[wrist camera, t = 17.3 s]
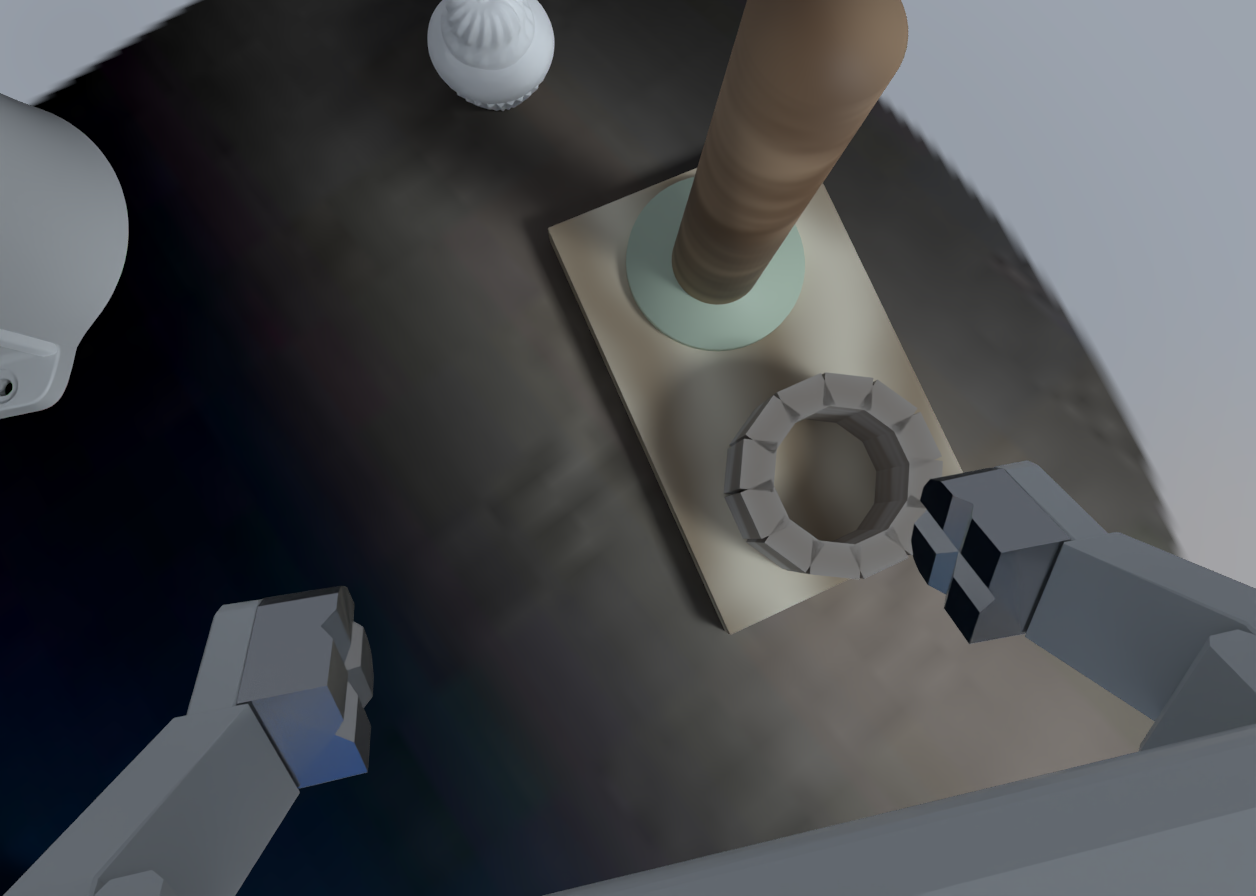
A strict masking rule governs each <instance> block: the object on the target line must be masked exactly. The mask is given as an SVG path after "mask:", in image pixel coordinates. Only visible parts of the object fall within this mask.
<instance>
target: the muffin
mask: <svg viewBox="0 0 1256 896" xmlns="http://www.w3.org/2000/svg"><path fill="white" fill-rule="evenodd" d="M427 41H428V51H429V55H430V58H431V61H432V63H433V65H434V67H435V69H436V71H437V72H438V74H439V75H440V77H441V78H442V79H443V80H444V82H445V83H446V84H447V85H448V86H449V87H450V88H451V89H453V90H454V91H456V92H457V95H458V96H460V97H463V98H465V99H466V101H467V102H470V103H473V104H475V105H477V106H479V107H483V108H486V109H489V110H491V109H493V110H495V111H498V110H502V111H504V110H505V109H507V110H510V108H511V107H513V108H515V107H516V106H517V105H519V104H520V103H522V102H523V101H524V100H526V99H527V98H528V97H530V96H531V94H532V93H533V92H534V91H535V90H537V89H538V85H539V84H540V83H541V82H542V81H543V80H544V77H545V75H546V74H547V72H548V70H549V68H550V65H551V62H552V58H553V53H554V34H553V29H552V26H551V22H550V20H549V18H548V16H547V14H546V12H545V10H544V9H543V7H542V6H541V5H540V3H539V2H538V1H537V0H442V1H441V2H440V3H439V4H438V6H437V7H436V9H435V11H434V12H433V14H432V16H431V19H430V22H429V27H428V35H427Z"/></svg>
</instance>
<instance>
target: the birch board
mask: <svg viewBox="0 0 1256 896" xmlns="http://www.w3.org/2000/svg"><path fill="white" fill-rule="evenodd" d="M696 170H697V168H695V169H693V170H690V171H688V172H685V173H683V174H680V175H678V176H676V177H673V178H671V179H668V180H666V181H663V182H661V183H658V184H656V185H653V186H651V187H648V188H646V189H643V190H641V191H638V192H636V193H633V194H631V195H628V196H626V197H624V198H621V199H619V200H616V201H614V202H611V203H609V204H606V205H604V206H601V207H599V208H596V209H594V210H591V211H589V212H586V213H584V214H581V215H579V216H576V217H574V218H572V219H569V220H567V221H564V222H562V223H559V224H557V225H554V226H552V227H549V228H548V234H549V240H550V242H551V245H552V247H553V249H554V251H555V253H556V256H557V258H558V260H559V262H560V265H561V267H562V269H563V271H564V274H565V276H566V278H567V280H568V282H569V285H570V287H571V289H572V291H573V294H574V296H575V298H576V300H577V303H578V305H579V307H580V309H581V311H582V314H583V316H584V318H585V320H586V323H587V325H588V327H589V329H590V332H591V334H592V336H593V338H594V340H595V343H596V345H597V347H598V349H599V352H600V354H601V356H602V358H603V360H604V363H605V365H606V367H607V369H608V372H609V374H610V376H611V378H612V381H613V383H614V385H615V387H616V389H617V392H618V394H619V396H620V398H621V401H622V403H623V405H624V407H625V410H626V412H627V414H628V416H629V418H630V421H631V423H632V425H633V427H634V430H635V432H636V434H637V436H638V439H639V441H640V443H641V445H642V447H643V450H644V452H645V454H646V456H647V459H648V461H649V463H650V465H651V468H652V470H653V472H654V474H655V476H656V479H657V481H658V483H659V485H660V488H661V490H662V492H663V494H664V497H665V499H666V501H667V503H668V505H669V508H670V510H671V512H672V514H673V517H674V519H675V521H676V523H677V526H678V528H679V530H680V532H681V534H682V537H683V539H684V541H685V543H686V546H687V548H688V550H689V552H690V555H691V557H692V559H693V561H694V563H695V566H696V568H697V570H698V572H699V575H700V577H701V579H702V581H703V584H704V586H705V588H706V590H707V592H708V595H709V597H710V599H711V601H712V604H713V606H714V608H715V610H716V613H717V615H718V617H719V619H720V621H721V624H722V626H723V628H724V630H725V632H727V633H728V634H730V635H731V634H733V633H735V632H738V631H740V630H742V629H744V628H746V627H748V626H750V625H752V624H755V623H757V622H759V621H761V620H763V619H765V618H767V617H770V616H772V615H774V614H776V613H778V612H780V611H782V610H784V609H787V608H789V607H791V606H793V605H795V604H797V603H799V602H802V601H804V600H806V599H808V598H810V597H812V596H814V595H816V594H819V593H821V592H823V591H825V590H827V589H829V588H831V587H834V586H836V585H838V584H840V583H842V582H844V581H846V580H848V579H859V580H860V578H862V579H865V578H867V577H869V576H871V575H873V574H875V573H877V572H880V571H882V570H884V569H886V568H888V567H890V566H892V565H894V564H897V563H899V562H901V561H903V560H905V559H907V558H908V556H907V555H912V554H913V551H912V544H911V537H912V532H913V527H914V523H915V522H916V521H917V520H918V519H919V518H920V517H921V516H922V514H923V513H924V512H925V511H926V510H927V509H926V508H925V507H924V505H923V504H922V503H921V501H920V498H921V494H922V490H923V487H924V486H925V484H926V483H927V482H928V481H929V480H930V479H933V478H939V477H944V476H949V475H954V474H960V473H963V472H962V470H961V468H960V466H959V463H958V461H957V459H956V457H955V455H954V453H953V451H952V449H951V447H950V445H949V443H948V441H947V439H946V437H945V435H944V432H943V430H942V428H941V426H940V424H939V422H938V420H937V418H936V416H935V414H934V412H933V410H932V408H931V406H930V403H929V401H928V399H927V397H926V395H925V393H924V391H923V389H922V387H921V385H920V383H919V381H918V379H917V377H916V375H915V372H914V370H913V368H912V366H911V364H910V362H909V360H908V358H907V356H906V354H905V352H904V350H903V348H902V346H901V344H900V341H899V339H898V337H897V335H896V333H895V331H894V329H893V327H892V325H891V323H890V321H889V319H888V317H887V315H886V313H885V310H884V308H883V306H882V304H881V302H880V300H879V298H878V296H877V294H876V292H875V290H874V288H873V286H872V284H871V282H870V279H869V277H868V275H867V273H866V271H865V269H864V267H863V265H862V263H861V261H860V259H859V257H858V255H857V253H856V251H855V248H854V246H853V244H852V242H851V240H850V238H849V236H848V234H847V232H846V230H845V228H844V226H843V224H842V222H841V220H840V217H839V215H838V213H837V211H836V209H835V207H834V205H833V203H832V201H831V199H830V197H829V195H828V193H827V191H826V189H825V186H824V184H823V183H822V184H821V186H820V187H819V189H818V190H817V192H816V193H815V195H814V196H813V198H812V199H811V201H810V202H809V204H808V205H807V207H806V208H805V210H804V211H803V213H802V214H801V216H800V217H799V219H798V220H797V222H796V223H795V225H796V227H797V229H798V232H799V234H800V237H801V240H802V244H803V248H804V256H805V274H804V281H803V285H802V289H801V292H800V295H799V297H798V299H797V301H796V304H795V305H794V307H793V309H792V310H791V312H790V313H789V315H788V316H787V317H786V318H785V319H784V321H783V322H782V323H781V324H780V325H779V326H778V327H777V328H776V329H775V330H774V331H773V332H771V333H770V334H769V335H767V336H766V337H764V338H763V339H761V340H759V341H757V342H755V343H753V344H751V345H748V346H745V347H743V348H739V349H734V350H729V351H705V350H700V349H694V348H691V347H688V346H685V345H682V344H680V343H678V342H676V341H674V340H672V339H670V338H669V337H667V336H666V335H664V334H663V333H661V332H660V331H659V330H658V329H657V328H655V327H654V326H653V325H652V324H651V323H650V322H649V321H648V320H647V318H646V317H645V316H644V314H643V313H642V312H641V310H640V309H639V307H638V305H637V304H636V302H635V300H634V298H633V295H632V293H631V290H630V287H629V283H628V279H627V272H626V252H627V246H628V241H629V237H630V234H631V230H632V228H633V226H634V223H635V221H636V219H637V217H638V216H639V214H640V213H641V211H642V210H643V208H644V207H645V206H646V205H647V204H648V203H649V202H650V200H651V199H653V198H654V197H655V196H656V195H657V194H658V193H659V192H661V191H662V190H664V189H666V188H667V187H669V186H671V185H673V184H675V183H677V182H679V181H682V180H685V179H688V178H691V177H695V174H696Z"/></svg>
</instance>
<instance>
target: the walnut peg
mask: <svg viewBox="0 0 1256 896" xmlns="http://www.w3.org/2000/svg"><path fill="white" fill-rule="evenodd" d="M907 41H908V24H907V17H906V13H905V10H904V7H903V4H902V2H901V0H747V3H746V6H745V10H744V13H743V16H742V20H741V23H740V26H739V30H738V33H737V36H736V40H735V43H734V46H733V50H732V53H731V56H730V60H729V63H728V66H727V70H726V73H725V77H724V80H723V83H722V87H721V90H720V93H719V97H718V100H717V103H716V107H715V110H714V113H713V117H712V120H711V123H710V127H709V130H708V134H707V137H706V140H705V144H704V147H703V150H702V154H701V157H700V160H699V164H698V167H697V170H696V174H695V177H694V180H693V184H692V187H691V190H690V194H689V197H688V201H687V204H686V207H685V211H684V214H683V217H682V221H681V224H680V227H679V231H678V234H677V237H676V241H675V244H674V247H673V252H672V268H673V272H674V275H675V278H676V280H677V281H678V283H679V285H680V286H681V287H682V288H683V290H684V291H685V292H686V293H688V294H689V295H690V296H692V297H693V298H695V299H697V300H699V301H701V302H704V303H708V304H715V305H721V304H728V303H731V302H734V301H737V300H739V299H740V298H742V297H743V296H745V295H746V294H747V293H748V292H749V291H750V290H751V289H752V288H753V286H754V285H755V283H756V282H757V280H758V279H759V277H760V276H761V274H762V273H763V271H764V270H765V268H766V267H767V265H768V264H769V262H770V261H771V259H772V258H773V256H774V255H775V253H776V252H777V250H778V249H779V247H780V246H781V244H782V243H783V241H784V240H785V238H786V237H787V235H788V234H789V232H790V231H791V229H792V228H793V226H794V225H795V223H796V222H797V220H798V219H799V217H800V216H801V214H802V213H803V211H804V210H805V208H806V207H807V205H808V204H809V202H810V201H811V199H812V198H813V196H814V195H815V193H816V192H817V190H818V189H819V187H820V186H821V184H822V183H823V181H824V180H825V178H826V177H827V175H828V174H829V172H830V171H831V169H832V168H833V166H834V165H835V163H836V162H837V160H838V159H839V157H840V156H841V154H842V153H843V151H844V150H845V148H846V147H847V145H848V144H849V142H850V141H851V139H852V138H853V136H854V135H855V133H856V132H857V130H858V129H859V127H860V126H861V124H862V123H863V121H864V120H865V118H866V117H867V115H868V114H869V112H870V111H871V109H872V108H873V106H874V105H875V103H876V102H877V100H878V99H879V97H880V96H881V94H882V93H883V91H884V90H885V88H886V87H887V85H888V84H889V82H890V81H891V79H892V78H893V76H894V75H895V73H896V72H897V70H898V69H899V67H900V65H901V63H902V60H903V58H904V55H905V52H906V48H907Z"/></svg>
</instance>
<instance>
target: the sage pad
mask: <svg viewBox="0 0 1256 896" xmlns="http://www.w3.org/2000/svg"><path fill="white" fill-rule="evenodd" d="M693 180H694V177H691V178H688V179H685V180H682V181H679V182H677V183H675V184H673V185H671V186H669V187H667V188H666V189H664V190H662V191H661V192H659V193H658V194H657V195H656V196H655V197H654V198H653V199H651V200H650V202H649V203H648V204H647V205H646V206H645V207H644V208H643V210H642V211H641V213H640V214H639V216H638V217H637V219H636V221H635V223H634V226H633V228H632V230H631V234H630V237H629V241H628V246H627V252H626V272H627V279H628V283H629V287H630V290H631V293H632V295H633V298H634V300H635V302H636V304H637V305H638V307H639V309H640V310H641V312H642V313H643V314H644V316H645V317H646V318H647V320H648V321H649V322H650V323H651V324H652V325H653V326H654V327H655V328H657V329H658V330H659V331H660V332H661V333H663V334H664V335H666V336H667V337H669V338H670V339H672V340H674V341H676V342H678V343H680V344H682V345H685V346H688V347H691V348H694V349H700V350H705V351H729V350H734V349H739V348H743V347H745V346H748V345H751V344H753V343H755V342H757V341H759V340H761V339H763V338H764V337H766V336H767V335H769V334H770V333H771V332H773V331H774V330H775V329H776V328H777V327H778V326H779V325H780V324H781V323H782V322H783V321H784V319H785V318H786V317H787V316H788V315H789V313H790V312H791V310H792V309H793V307H794V305H795V304H796V301H797V299H798V297H799V295H800V292H801V289H802V285H803V281H804V274H805V256H804V248H803V244H802V240H801V237H800V234H799V232H798V229H797V227H796V225H794V226H793V228H792V229H791V231H790V232H789V234H788V235H787V237H786V238H785V240H784V241H783V243H782V244H781V246H780V247H779V249H778V250H777V252H776V253H775V255H774V256H773V258H772V259H771V261H770V262H769V264H768V265H767V267H766V268H765V270H764V271H763V273H762V274H761V276H760V277H759V279H758V280H757V282H756V283H755V285H754V286H753V288H752V289H751V290H750V291H749V292H748V293H747V294H746V295H745V296H743V297H742V298H740V299H739V300H737V301H734V302H731V303H728V304H721V305H715V304H708V303H704V302H701V301H699V300H697V299H695V298H693V297H692V296H690V295H689V294H688V293H686V292H685V291H684V290H683V288H682V287H681V286H680V285H679V283H678V281H677V280H676V278H675V275H674V272H673V268H672V252H673V247H674V244H675V241H676V237H677V234H678V231H679V227H680V224H681V221H682V217H683V214H684V211H685V207H686V204H687V201H688V197H689V194H690V190H691V187H692V184H693Z"/></svg>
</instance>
